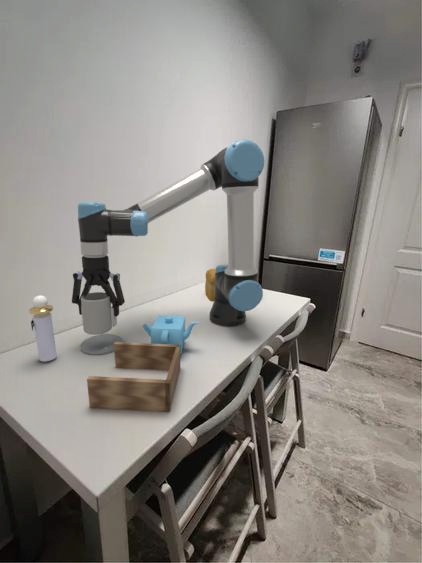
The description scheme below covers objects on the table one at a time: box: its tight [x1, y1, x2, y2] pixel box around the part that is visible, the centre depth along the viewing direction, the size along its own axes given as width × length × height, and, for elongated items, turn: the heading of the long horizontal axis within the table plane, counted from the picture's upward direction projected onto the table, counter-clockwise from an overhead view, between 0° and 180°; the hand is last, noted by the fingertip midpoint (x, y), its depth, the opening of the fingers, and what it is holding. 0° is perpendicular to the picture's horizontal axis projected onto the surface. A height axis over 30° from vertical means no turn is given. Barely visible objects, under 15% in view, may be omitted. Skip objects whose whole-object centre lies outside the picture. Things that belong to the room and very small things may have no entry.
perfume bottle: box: [28, 294, 58, 362], centre depth 80 cm, size 6×6×20 cm
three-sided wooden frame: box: [86, 341, 181, 413], centre depth 71 cm, size 18×17×8 cm
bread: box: [204, 268, 216, 302], centre depth 143 cm, size 24×13×15 cm, turn 103°
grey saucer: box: [79, 333, 124, 356], centre depth 91 cm, size 13×13×1 cm
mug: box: [81, 291, 113, 336], centre depth 88 cm, size 12×8×11 cm
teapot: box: [141, 314, 200, 356], centre depth 89 cm, size 16×18×11 cm
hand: (100, 324), depth 90 cm, fingers closed on mug, 9 cm apart
